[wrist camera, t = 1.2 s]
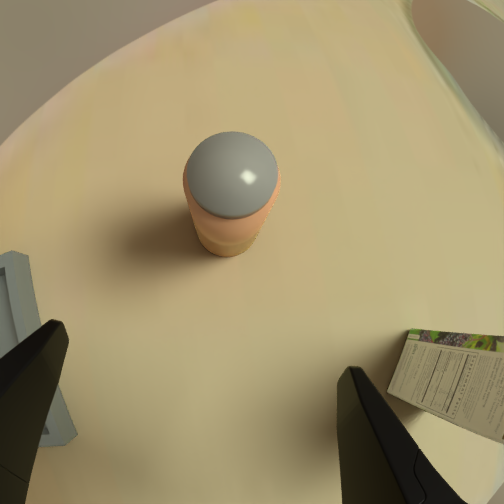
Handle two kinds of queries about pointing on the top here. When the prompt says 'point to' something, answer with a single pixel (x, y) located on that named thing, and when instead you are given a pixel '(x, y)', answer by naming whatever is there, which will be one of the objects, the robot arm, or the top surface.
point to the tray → (20, 327)
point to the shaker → (230, 190)
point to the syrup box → (454, 379)
